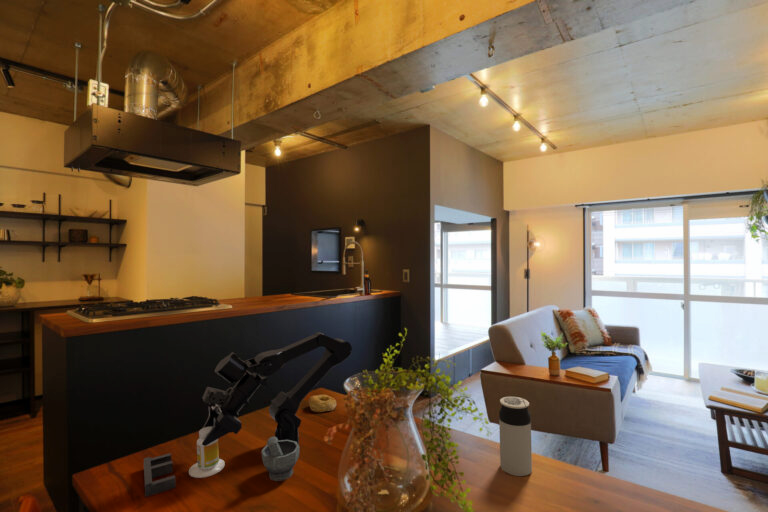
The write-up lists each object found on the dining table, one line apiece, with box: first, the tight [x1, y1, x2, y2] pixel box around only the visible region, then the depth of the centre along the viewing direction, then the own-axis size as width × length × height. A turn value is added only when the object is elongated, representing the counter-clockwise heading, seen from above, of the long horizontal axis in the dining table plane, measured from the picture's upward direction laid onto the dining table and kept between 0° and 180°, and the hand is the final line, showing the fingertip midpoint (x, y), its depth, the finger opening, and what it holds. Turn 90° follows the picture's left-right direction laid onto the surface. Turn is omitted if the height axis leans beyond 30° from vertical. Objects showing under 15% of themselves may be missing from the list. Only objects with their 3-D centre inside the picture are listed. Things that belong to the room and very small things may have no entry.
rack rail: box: [143, 452, 176, 498], centre depth 100 cm, size 6×15×3 cm, turn 33°
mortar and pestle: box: [260, 435, 301, 482], centre depth 100 cm, size 11×9×12 cm
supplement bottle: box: [196, 427, 220, 469], centre depth 104 cm, size 5×5×10 cm
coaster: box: [188, 458, 226, 479], centre depth 104 cm, size 9×9×1 cm
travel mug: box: [498, 396, 533, 477], centre depth 101 cm, size 8×8×18 cm
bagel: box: [308, 394, 337, 413], centre depth 145 cm, size 10×11×5 cm
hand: (201, 440), depth 103 cm, fingers closed on supplement bottle, 5 cm apart
